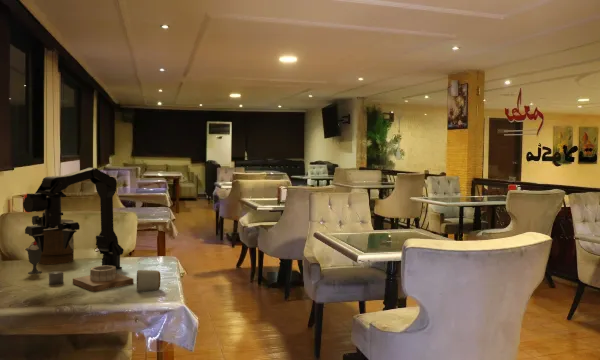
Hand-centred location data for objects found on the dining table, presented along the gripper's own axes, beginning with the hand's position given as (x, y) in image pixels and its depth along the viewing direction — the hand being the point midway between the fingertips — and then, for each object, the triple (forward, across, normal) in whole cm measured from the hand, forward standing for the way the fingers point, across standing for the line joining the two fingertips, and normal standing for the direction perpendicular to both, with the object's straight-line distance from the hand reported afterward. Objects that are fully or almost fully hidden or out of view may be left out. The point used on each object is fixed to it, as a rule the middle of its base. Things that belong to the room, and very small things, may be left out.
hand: (53, 250), depth 199 cm
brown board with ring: (+12, -11, +16) cm, 23 cm away
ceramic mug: (+13, -16, +35) cm, 41 cm away
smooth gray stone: (+12, 0, +2) cm, 13 cm away
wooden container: (+13, -21, -35) cm, 43 cm away
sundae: (+12, -3, -20) cm, 24 cm away
